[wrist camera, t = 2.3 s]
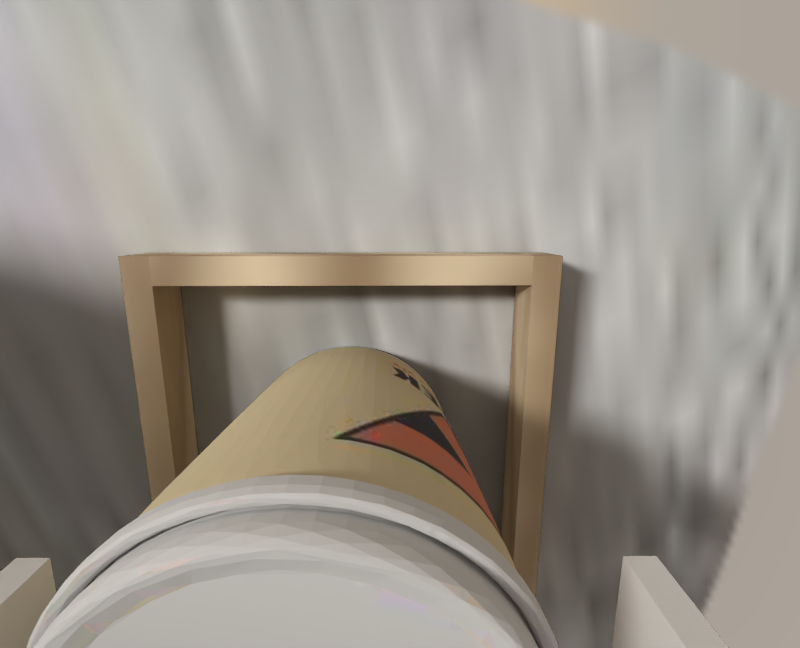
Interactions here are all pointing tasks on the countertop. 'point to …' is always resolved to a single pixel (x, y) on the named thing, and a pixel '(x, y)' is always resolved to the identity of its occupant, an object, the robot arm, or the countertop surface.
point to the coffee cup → (311, 533)
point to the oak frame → (530, 273)
